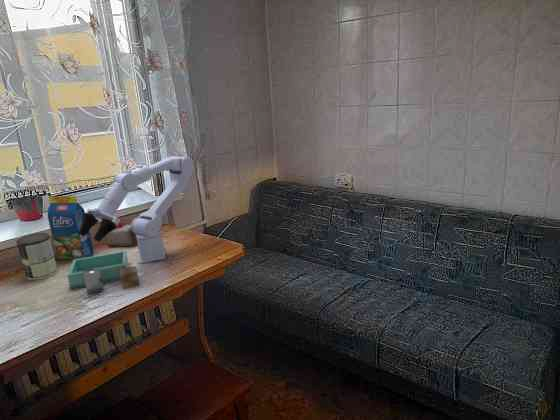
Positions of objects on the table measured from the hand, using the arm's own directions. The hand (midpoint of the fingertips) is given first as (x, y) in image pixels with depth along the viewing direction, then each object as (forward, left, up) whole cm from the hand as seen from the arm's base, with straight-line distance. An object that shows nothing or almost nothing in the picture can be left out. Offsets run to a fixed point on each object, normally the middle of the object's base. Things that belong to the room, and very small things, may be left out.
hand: (88, 237), depth 139 cm
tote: (-1, -4, -16) cm, 16 cm away
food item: (-8, -34, -16) cm, 39 cm away
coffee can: (+20, -16, -16) cm, 31 cm away
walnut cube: (-11, +8, -16) cm, 21 cm away
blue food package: (+10, -28, -16) cm, 34 cm away
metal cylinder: (0, +8, -16) cm, 18 cm away
